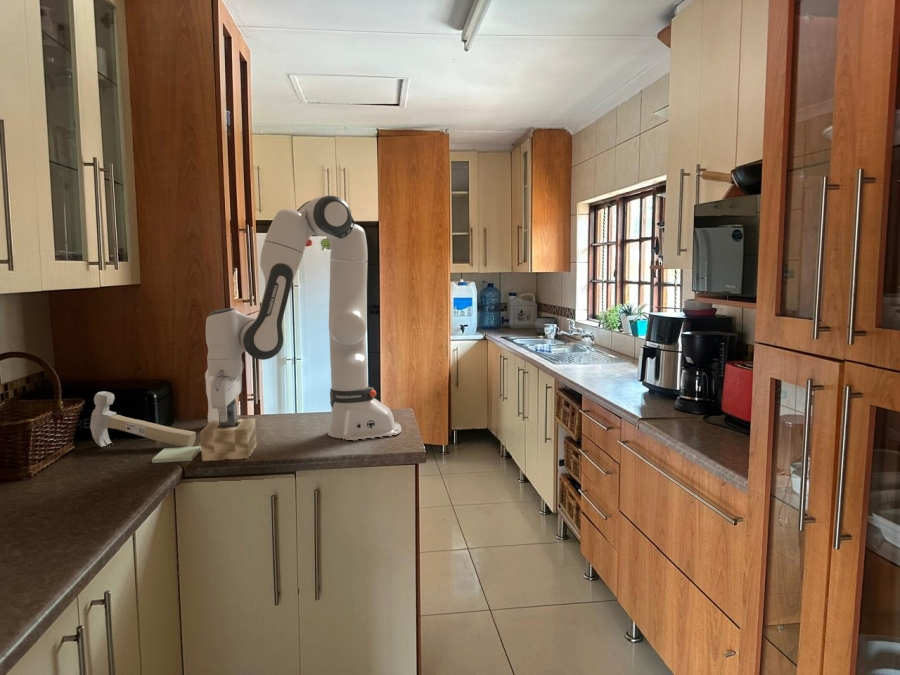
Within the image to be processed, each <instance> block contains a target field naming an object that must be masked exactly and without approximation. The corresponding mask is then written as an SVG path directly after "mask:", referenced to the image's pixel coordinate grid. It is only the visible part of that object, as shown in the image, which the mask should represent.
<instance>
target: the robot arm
mask: <svg viewBox="0 0 900 675" xmlns="http://www.w3.org/2000/svg"><path fill="white" fill-rule="evenodd" d="M366 236H367V235H366V231H365V230H364V228H363V227H362V226H360V225H359V224H356V223H355V220H354V217H353V215H352V212H351V209H350V207H349V205H348V203H347V202H346V200H344V199H343V198H341V197H340V196H339V197H338V196H335V195H325V196H319V197H315V198H313V199H312V200H309V201H307V202H304V203H303V204H302V205H301V206H300V207H299V208H298V209H297V210H296V209H294V208H293V209H292V208H283V209H280V210H279V211H278V212H277V213H276V214H275V216H274V217H273V220H272V222H271V224H270V225H269V227H268V230H267V232H266V235H265V238H264V242H263V245H262V249H261V254H260V258H259V259H260V261H259V266H260V269H261V271H262V273H263V277H264V281H265V284H264V286H265V288H264V291H263V295H262V299H261V303H260V306H259V311H258V315H257V317H252V316H249V315H247V314H245V313H243V312H241V311H239V310H238V309H236V308H234V307H228V308H222V309H217V310H214V311H212V312H210V313H209V314H207V315H208V316H207V318H206V319H205V320H206V321H205V341H206V346H207V349H208V350H207V356H206V358H207V359H206V361H207V369H208V375H209V376H213V378H214V379H213V380H212V382H211V405H212V408H214V409H218V413H219V416H220V422H226V421H227V420H228V414H227V406H228V405H229V404H230V403H231V402H237V397H238V396H239V395H240V394H241V392H242V381H243V380H242V378H243V376H242V374H243V370H244V362H243V358H242V355H243V353H248V355H249V356H250V357H251V358H254V359H256V360H260V361H261V360H269V359H272V358H274V357H275V356H277V354H279V353H280V352H281V350H282V348H283V344H284V334H283V333H284V331H283V318H284V315H285V311H286V307H287V304H288V299H289V297H290V296H289V295H290V292H291V288H292V284H293V283H294V279H295V278H296V277H295V276H296V275H297V271H298V270H299V268H300V265H301V262H302V259H303V255H304V253H305V249H306V244H307V243H308V241H309V239H310V238H311V237H326V238H327V240H328V243H329V246H330V261H329V299H328V301H329V302H328V332H329V355H330V358H329V359H330V360H329V361H330V382H331V384H330V385H331V386H330V387H331V388H330V389H329V390H330V391H329V401H330V402H329V404H330V407H331V412H330V414H331V415H330V422H329V427H328V432H327V434H328V436H330V437H331V438H336V439H341V438H342V440H344V439H345V440H344V441H347V440H353V441H359V440H358V439H362V440H367V439H366V438H371V439H376V438H375V437H380V438H383V437H382V436H389V437H393V436H392V435H397V434H399V433H400V432H401V433H402V426H401V424H400V423H399V422H397V421H395V418H394V415H393V413H392V411H391V408H389V407H388V406H387V405H385V404H383V402H381V401H379V400H378V399H376V396H377V391H376V390H375V388H374V387H371V386H369V384H368V382H369V381H368V380H369V379H368V378H369V376H368V358H367V355H368V354H367V344H366V342H367V341H366V333H367V328H368V326H367V325H368V260H369V259H368V256H369V255H368V242H367V237H366ZM401 433H400V434H401ZM400 434H399V435H400ZM397 436H398V435H397Z"/></svg>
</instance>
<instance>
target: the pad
mask: <svg viewBox="0 0 900 675" xmlns="http://www.w3.org/2000/svg"><path fill="white" fill-rule="evenodd" d="M200 452H202V451H201V445H197V446H194V445H193V446H192V447H180V446H176V447H164V448H163V449H162V450H161V451H159V452H158V453H157V454H156V455H155V456H154V457H152V459H151V463H152V464H155V463H156V464H157V463H159V464H160V463H172V462H175V463H176V462H188V461H190V462H191V461H193V459H194V458H195V457H196V456H197V455H198V454H199V453H200Z"/></svg>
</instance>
